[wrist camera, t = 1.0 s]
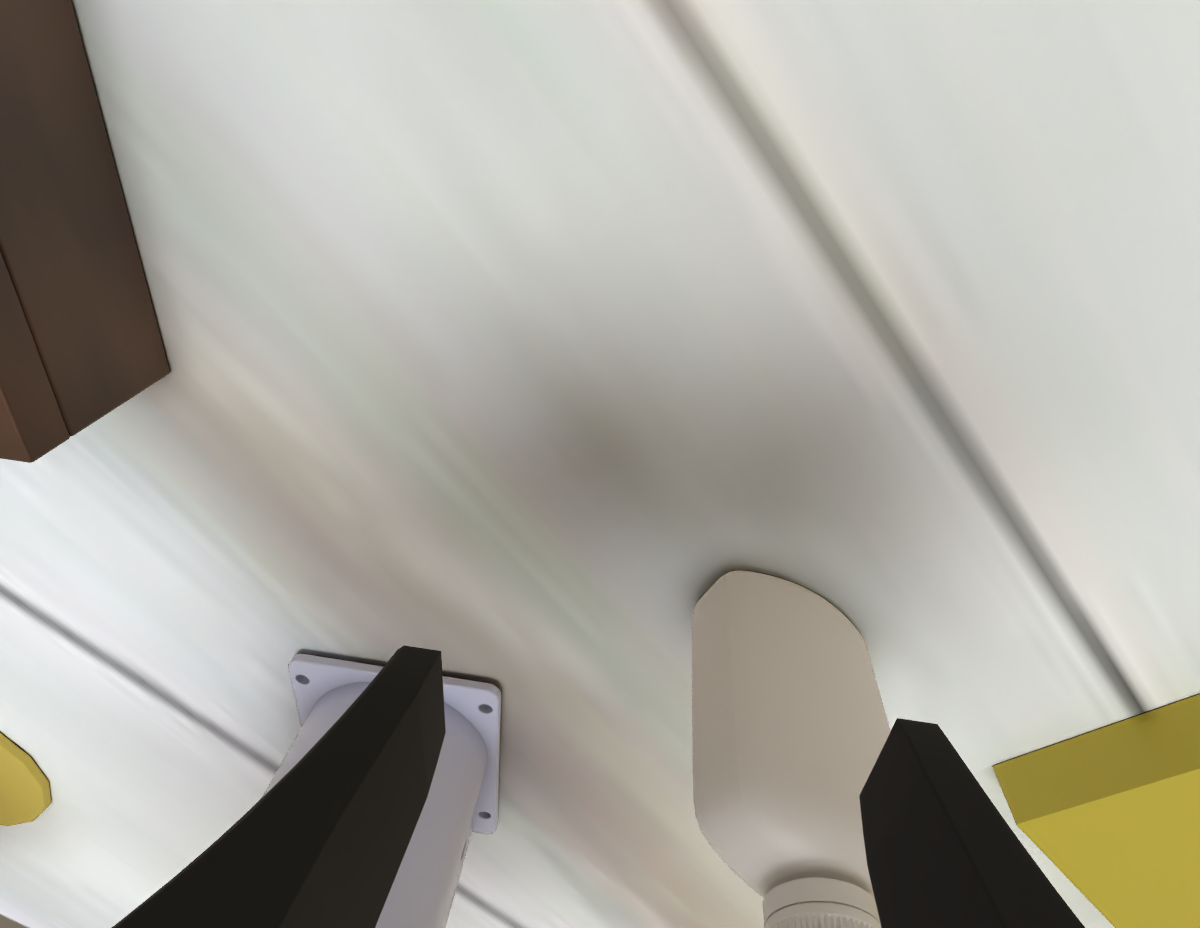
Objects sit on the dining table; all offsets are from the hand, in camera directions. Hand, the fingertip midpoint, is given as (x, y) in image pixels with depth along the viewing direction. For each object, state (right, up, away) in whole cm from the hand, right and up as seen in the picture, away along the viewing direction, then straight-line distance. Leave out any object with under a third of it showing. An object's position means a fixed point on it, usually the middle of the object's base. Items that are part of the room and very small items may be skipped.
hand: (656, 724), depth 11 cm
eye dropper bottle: (+5, -1, +11) cm, 13 cm away
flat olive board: (+26, -11, +15) cm, 32 cm away
